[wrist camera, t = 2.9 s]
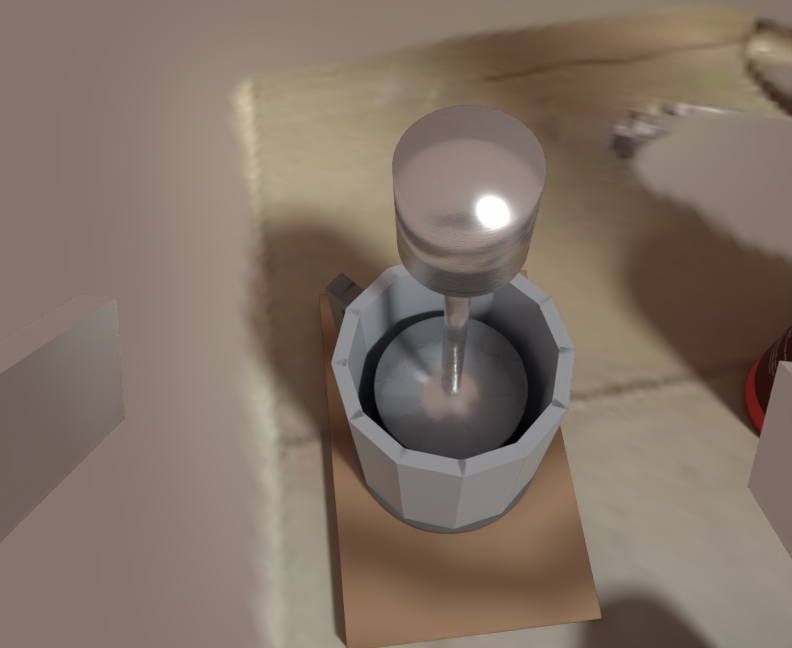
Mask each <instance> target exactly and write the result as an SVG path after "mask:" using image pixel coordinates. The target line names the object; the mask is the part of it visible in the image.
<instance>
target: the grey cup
mask: <svg viewBox="0 0 792 648" xmlns="http://www.w3.org/2000/svg"><path fill="white" fill-rule="evenodd" d="M326 292H327V296H328V300H329V304H330V308H331V312H332V316H333V320H334V324H335V328H336V332H337V336H338V340H337V344H336V348H335V351H334V355H333V358H332V362H331V365H332V368H333V371H334V375H335V378H336V382H337V385H338V388H339V392H340V395H341V398H342V402H343V405H344V409H345V412H346V415H347V419H348V422H349V426H350V429H351V432H352V436H353V449H354V455H355V459H356V463H357V467H358V469H359V472H360V475H361V478H362V480H363V482H364V484H365V486H366V487H367V489H368V491H369V492H370V494H371V495H372V496H373V498H374V499H375V500H376V501H377V503H378V504H379V505H380V506H381V507H382V508H383V509H384V510H386V511H387V512H388V513H389V514H390V515H392V516H393V517H394V518H396V519H398V520H399V521H401V522H403V523H404V524H407V525H409V526H411V527H414V528H416V529H419V530H423V531H426V532H431V533H438V534H458V533H466V532H470V531H474V530H478V529H480V528H483V527H485V526H488V525H490V524H492V523H493V522H495V521H497V520H499V519H500V518H502V517H503V516H504V515H506V514H507V513H508V512H509V511H511V510H512V509H513V507H514V506H515V505H516V504H517V503H518V502H519V501H520V500H521V498H522V497H523V496H524V494H525V493H526V491H527V489H528V487H529V486H530V484H531V482H532V480H533V478H534V476H535V473H536V470H537V468H538V466H539V464H540V462H541V460H542V458H543V456H544V454H545V452H546V451H547V449H548V447H549V445H550V443H551V441H552V439H553V437H554V435H555V433H556V431H557V429H558V427H559V425H560V423H561V421H562V419H563V418H564V416H565V414H566V412H567V410H568V404H569V396H570V389H571V381H572V373H573V366H574V358H575V351H576V349H575V347H574V345H573V343H572V341H571V339H570V336H569V334H568V332H567V330H566V328H565V326H564V323H563V321H562V319H561V317H560V315H559V313H558V310H557V308H556V306H555V304H554V302H553V300H552V297H551V296H550V295H548V294H547V293H546V292H544V291H543V290H542V289H540V288H539V287H538V286H536V285H535V284H533V283H532V282H531V281H529V280H528V279H527V278H525V277H524V276H523V275H521V274H520V273H518V274H517V275H516V276H515V278H513V279H512V280H511V281H510V282H509V283H508V284H506V285H505V286H503V287H502V288H500V289H498V290H496V291H494V292H492V293H489V294H486V295H482V296H478V297H471V303H470V312H469V319H474V320H476V321H479V322H482V323H484V324H486V325H488V326H490V327H492V328H493V329H495V330H496V331H498V332H499V333H500V334H501V335H503V336H504V337H505V338H506V339H507V340H508V341H509V342H510V343H511V345H512V346H513V347H514V348H515V350H516V351H517V353H518V354H519V356H520V358H521V360H522V362H523V365H524V368H525V371H526V376H527V381H528V396H527V403H526V407H525V411H524V413H523V416H522V419H521V421H520V424H519V425H518V427H517V429H516V431H515V432H514V433H513V435H512V436H511V437H510V439H509V440H508V441H507V442H506V443H505V444H504V445H503V446H502V447H500V448H499V449H496V450H493V451H490V452H486V453H483V454H480V455H477V456H474V457H471V458H468V459H465V460H457V459H452V458H447V457H443V456H438V455H433V454H428V453H423V452H418V451H413V450H408V449H404V448H403V447H402V446H401V445H400V444H399V443H398V442H396V441H395V440H394V439H393V438H392V436H391V435H390V434H389V432H388V431H387V430H386V428H385V426H384V424H383V423H382V420H381V418H380V415H379V413H378V409H377V405H376V399H375V391H374V384H375V375H376V370H377V367H378V364H379V361H380V359H381V357H382V355H383V353H384V351H385V350H386V348H387V347H388V345H389V344H390V343H391V342H392V341H393V340H394V338H396V337H397V336H398V335H399V334H400V333H401V332H403V331H404V330H405V329H407V328H408V327H410V326H412V325H414V324H416V323H418V322H421V321H423V320H426V319H430V318H434V317H442V316H444V307H445V295H442V294H439V293H436V292H434V291H432V290H430V289H428V288H426V287H424V286H423V285H421V284H420V283H419V282H417V281H416V280H415V279H414V278H413V277H412V276H411V275H410V274H409V272H408V271H407V270H406V268H405V267H404V265H403V264H399V265H396V266H392V267H389V268H387V269H386V270H385V271H384V272H383V273H382V274H381V275H380V276H379V277H378V278H377V279H376V280H375V281H374V282H373V283H372V284H371V285H370V286H369V287H368V288H367V289H365V290H362V289H361V288H360V287H359V286H357V285H356V284H355V283H354V282H352V281H351V280H350V279H349V278H347V277H346V276H345V275H344V274H343V273H341V274H340V275H339V276H338V277H337V278H336V279H335V280H334V281H333V282H332V283H330V284H329V285H328V286H327V287H326Z"/></svg>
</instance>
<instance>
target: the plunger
mask: <svg viewBox="0 0 792 648" xmlns="http://www.w3.org/2000/svg"><path fill="white" fill-rule="evenodd" d="M546 169H547V168H546V159H545V155H544V151H543V149H542V147H541V144H540V143H539V141H538V139H537V138H536V136H535V135H534V134H533V133H532V131H531V130H530V129H529V128H528V127H526V126H525V125H524V124H523V123H522V122H520V121H519V120H518V119H516V118H514V117H512V116H511V115H509V114H507V113H504V112H502V111H499V110H496V109H493V108H489V107H484V106H475V105H461V106H453V107H448V108H444V109H441V110H438V111H435V112H432V113H430V114H428V115H426V116H424V117H423V118H421V119H419V120H418V121H417V122H415V123H414V124H413V125H412V126H411V127H410V128H409V129H408V130H407V131H406V132H405V133H404V135H403V136H402V137H401V139H400V141H399V142H398V144H397V146H396V149H395V152H394V156H393V161H392V174H393V189H394V205H395V220H396V235H397V247H398V252H399V256H400V259H401V261H402V263H403V265H404V267H405V268H406V270H407V271H408V272H409V274H410V275H411V276H412V277H413V278H414V279H415V280H416V281H417V282H419V283H420V284H421V285H423V286H424V287H426V288H428V289H430V290H432V291H434V292H436V293H439V294H442V295H445V307H444V316H442V317H434V318H430V319H426V320H423V321H421V322H418V323H416V324H414V325H412V326H410V327H408V328H407V329H405V330H404V331H403V332H401V333H400V334H399V335H398V336H397V337H396V338H394V340H393V341H392V342H391V343H390V344H389V345H388V347H387V348H386V350H385V351H384V353H383V355H382V357H381V359H380V361H379V364H378V367H377V370H376V375H375V384H374V391H375V399H376V405H377V409H378V413H379V415H380V418H381V420H382V423H383V424H384V426H385V428H386V430H387V431H388V432H389V434H390V435H391V436H392V438H393V439H394V440H395V441H396V442H398V443H399V444H400V445H401V446H402V447H403V448H404V449H408V450H413V451H418V452H423V453H428V454H433V455H438V456H443V457H447V458H452V459H457V460H465V459H468V458H471V457H474V456H477V455H480V454H483V453H486V452H490V451H493V450H496V449H499V448H500V447H502V446H503V445H504V444H505V443H506V442H507V441H508V440H509V439H510V437H511V436H512V435H513V433H514V432H515V431H516V429H517V427H518V425H519V424H520V421H521V419H522V416H523V413H524V411H525V407H526V403H527V396H528V381H527V376H526V371H525V368H524V365H523V362H522V360H521V358H520V356H519V354H518V353H517V351H516V350H515V348H514V347H513V346H512V345H511V343H510V342H509V341H508V340H507V339H506V338H505V337H504V336H503V335H501V334H500V333H499V332H498V331H496V330H495V329H493V328H492V327H490V326H488V325H486V324H484V323H482V322H479V321H476V320H474V319H469V312H470V303H471V297H478V296H482V295H486V294H489V293H492V292H494V291H496V290H498V289H500V288H502V287H503V286H505V285H506V284H508V283H509V282H510V281H511V280H512V279H513V278H515V276H516V275H517V274H518V273H519V272H520V270H521V268H522V267H523V265H524V263H525V261H526V258H527V255H528V251H529V246H530V242H531V238H532V234H533V229H534V225H535V221H536V217H537V212H538V208H539V204H540V200H541V196H542V191H543V187H544V183H545V179H546Z"/></svg>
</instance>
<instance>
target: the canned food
mask: <svg viewBox="0 0 792 648" xmlns="http://www.w3.org/2000/svg"><path fill="white" fill-rule="evenodd" d="M779 361H786V362H792V326H791V327H790V328H789V329H788V330H787V331H786V332H785V333H784V334H783V335H782V336H781V337H780V338H779V339H778V340H777V341H776V342H775V343H774V344H773V345H772V346H771V347H770V348H769V349H768V350H767V351H766V352H765V353H764V354H763V355H762V356H761V357H760V358H759V359H758V360H757V361H756V363H755V364H754V365H753V366H752V368H751V370H750V372H749V375H748V377H747V381H746V387H745V393H744V396H745V406H746V409H747V413H748V416H749V418H750V420H751V421H752V423H753V425H754V427H755V428H756V429H757V431H758V432H759V433H760V434H761V431H762V427H763V423H764V419H765V415H766V411H767V407H768V403H769V399H770V395H771V391H772V387H773V384H774V380H775V376H776V372H777V368H778V364H779Z"/></svg>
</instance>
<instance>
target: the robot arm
mask: <svg viewBox="0 0 792 648" xmlns="http://www.w3.org/2000/svg"><path fill="white" fill-rule="evenodd" d="M124 418H125V416H124V402H123V387H122V373H121V358H120V342H119V327H118V313H117V298H114V297H104V296H93V295H83V294H81V295H79V296H77V297H75V298H74V299H72V300H70V301H69V302H67V303H65V304H63V305H62V306H60V307H59V308H57V309H55V310H53V311H51V312H50V313H48V314H46V315H45V316H43V317H41V318H40V319H38V320H36V321H34V322H33V323H31V324H30V325H28V326H26V327H24V328H23V329H21V330H19V331H17V332H16V333H14V334H12V335H11V336H9V337H7V338H5V339H4V340H2V341H1V342H0V543H1V542H2V541H3V540H4V539H5V538H6V537H7V536H8V535H9V534H10V533H11V532H12V531H13V530H14V529H15V528H16V527H17V526H18V525H19V523H21V522H22V521H23V520H24V519H25V518H26V517H27V516H28V515H29V514H30V513H31V512H32V511H33V510H34V509H35V508H36V507H37V506H38V505H39V504H40V503H41V502H42V501H43V500H44V499H45V498H46V496H48V495H49V494H50V493H51V492H52V491H53V490H54V489H55V488H56V487H57V486H58V485H59V484H60V483H61V482H62V481H63V480H64V479H65V478H66V477H67V476H68V475H69V474H70V473H71V472H72V471H73V470H74V469H75V468H76V467H77V466H78V464H79V463H81V461H83V460H84V459H85V458H86V457H87V455H89V454H90V453H91V452H92V451H93V450H94V449H95V448H96V447H97V446H98V445H99V444H100V443H101V442H102V441H103V439H104V438H106V437H107V436H108V435H109V434H110V432H112V431H113V430H114V428H116V427H117V426H118V425H119V423H121V422H122V421H123V420H124ZM748 488H749V489H750V491H751V493H752V494H753V496H754V498H755V499H756V501H757V502H758V504H759V506H760V507H761V509H762V511H763V512H764V514H765V516H766V517H767V519H768V521H769V522H770V524H771V525H772V527H773V529H774V530H775V532H776V534H777V535H778V537H779V539H780V540H781V542H782V543H783V545H784V547H785V548H786V550H787V552H788V553H789V555H790V557H791V558H792V362H786V361H779V364H778V368H777V372H776V376H775V380H774V384H773V387H772V391H771V395H770V399H769V403H768V407H767V411H766V415H765V419H764V423H763V427H762V431H761V435H760V439H759V443H758V447H757V451H756V455H755V459H754V463H753V467H752V471H751V475H750V479H749V483H748Z"/></svg>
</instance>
